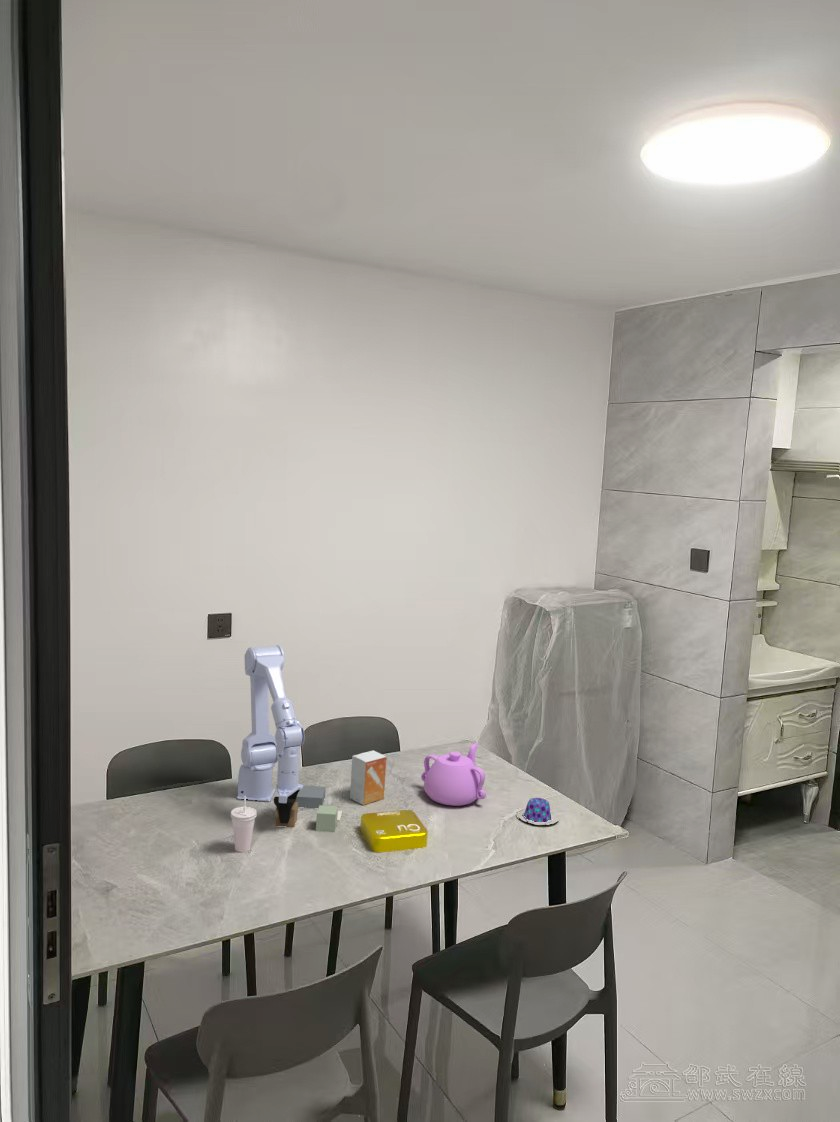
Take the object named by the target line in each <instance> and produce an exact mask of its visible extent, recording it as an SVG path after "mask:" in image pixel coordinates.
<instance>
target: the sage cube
mask: <svg viewBox="0 0 840 1122" xmlns="http://www.w3.org/2000/svg"><path fill="white" fill-rule="evenodd" d="M338 811H339V807H338V806H336V805H324V804H323V805H319V808H318V809H317V811H316V817H315V818H316V821H315V824H316V825H315V832H325V831H328V832H329V833H335V832H336V828H337V825H338V821H337V815H338Z"/></svg>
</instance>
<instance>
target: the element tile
mask: <svg viewBox="0 0 840 1122" xmlns="http://www.w3.org/2000/svg"><path fill="white" fill-rule="evenodd" d="M360 832H361V834H362V836H363V837H364V839H365V841H366V843H367V845H368V846H369V848H370V850H371V851H372V852H375V853H379V854H380V853H388V852H399V851H408V849H411V850H418V849H417V848H421V849H424V848H423V847H425V848H427V846H428V835H429V831H428V830H427V828H426V826H425V825H424V824H423V822H422V821H421V820H420V818H419V817H418V815H417V814H416V813H415V812H414V811H413V810H410V809H404V810H393V811H392V810H391V811H381V812H380V811H379V812H367V813H364V814H362V815H361V817H360ZM415 848H416V849H415Z"/></svg>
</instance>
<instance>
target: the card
mask: <svg viewBox="0 0 840 1122" xmlns="http://www.w3.org/2000/svg"><path fill="white" fill-rule="evenodd" d="M342 815H343V810H338V815H337V822H340V821H341V818H342Z"/></svg>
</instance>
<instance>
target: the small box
mask: <svg viewBox="0 0 840 1122" xmlns="http://www.w3.org/2000/svg"><path fill="white" fill-rule="evenodd" d="M386 769H387V756H386V755H384V754H382V753H381V752H378V751H376V750H374V749H373V750H369V751H366V752H361V753H358V754H353V755H352V756H351V774H350V777H351V778H350V792H349V798H350V799H351V800H353V801H355V802H356V803H358V804H360V805H362V806H365V805H368V804H370V803H374V802H377V801H381V800H384V799H385V786H386V785H385V784H386V773H387V772H386Z"/></svg>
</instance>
